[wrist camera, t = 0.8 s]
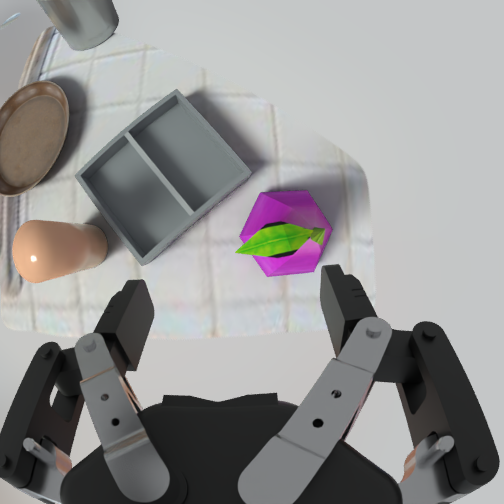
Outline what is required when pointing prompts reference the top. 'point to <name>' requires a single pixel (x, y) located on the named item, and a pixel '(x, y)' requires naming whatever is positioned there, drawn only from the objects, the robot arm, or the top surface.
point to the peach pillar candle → (57, 249)
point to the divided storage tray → (161, 176)
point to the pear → (285, 233)
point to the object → (31, 135)
